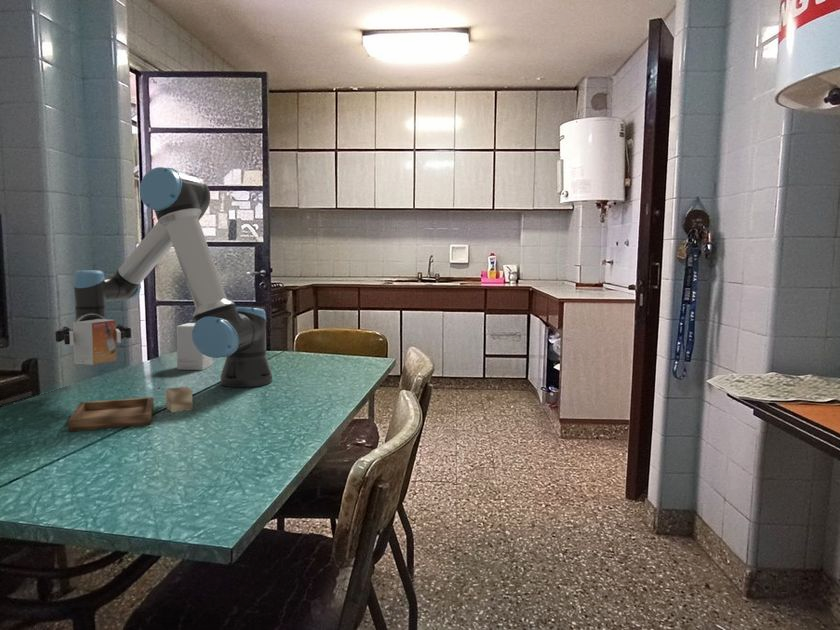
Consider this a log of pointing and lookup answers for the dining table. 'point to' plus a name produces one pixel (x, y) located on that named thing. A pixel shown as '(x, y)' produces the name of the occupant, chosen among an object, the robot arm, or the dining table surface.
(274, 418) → the dining table surface
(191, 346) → the supplement box
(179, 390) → the beech block
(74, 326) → the small box
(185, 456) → the dining table surface
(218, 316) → the robot arm
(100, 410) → the tray
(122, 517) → the dining table surface
